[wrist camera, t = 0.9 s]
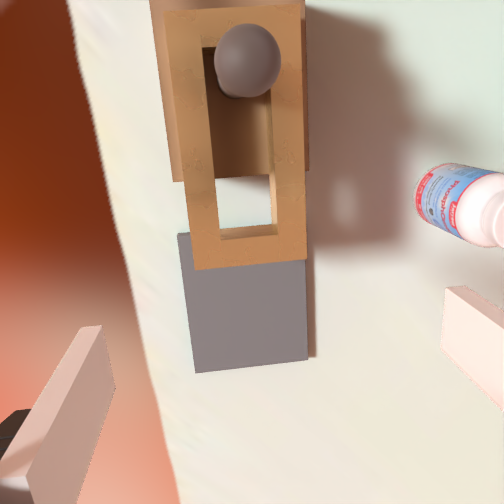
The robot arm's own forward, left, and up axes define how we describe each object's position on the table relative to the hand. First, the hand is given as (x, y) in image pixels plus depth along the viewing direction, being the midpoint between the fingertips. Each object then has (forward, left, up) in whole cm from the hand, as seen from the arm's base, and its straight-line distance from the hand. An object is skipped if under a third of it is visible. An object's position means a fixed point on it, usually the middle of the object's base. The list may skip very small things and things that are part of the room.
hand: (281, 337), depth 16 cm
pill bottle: (-20, +1, -25) cm, 32 cm away
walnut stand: (0, -10, -24) cm, 27 cm away
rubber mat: (0, +10, -24) cm, 26 cm away
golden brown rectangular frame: (0, -6, -16) cm, 17 cm away
